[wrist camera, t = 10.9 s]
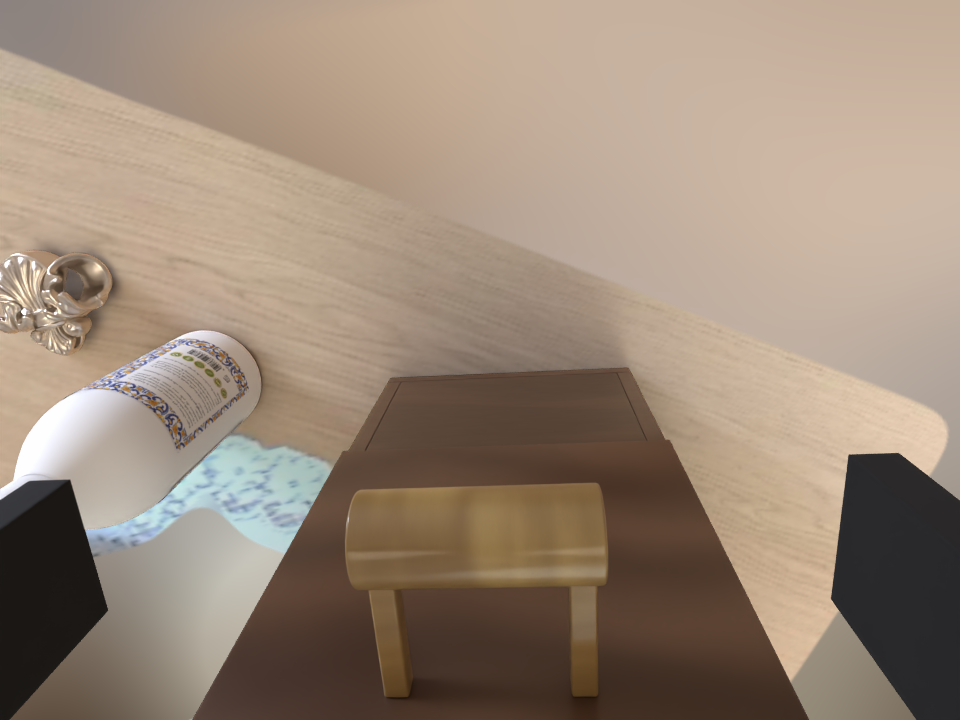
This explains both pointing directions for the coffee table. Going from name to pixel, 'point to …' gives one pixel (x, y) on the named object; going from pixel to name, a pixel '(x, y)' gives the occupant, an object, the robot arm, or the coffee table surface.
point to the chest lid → (505, 596)
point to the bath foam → (142, 426)
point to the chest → (508, 410)
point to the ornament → (51, 297)
